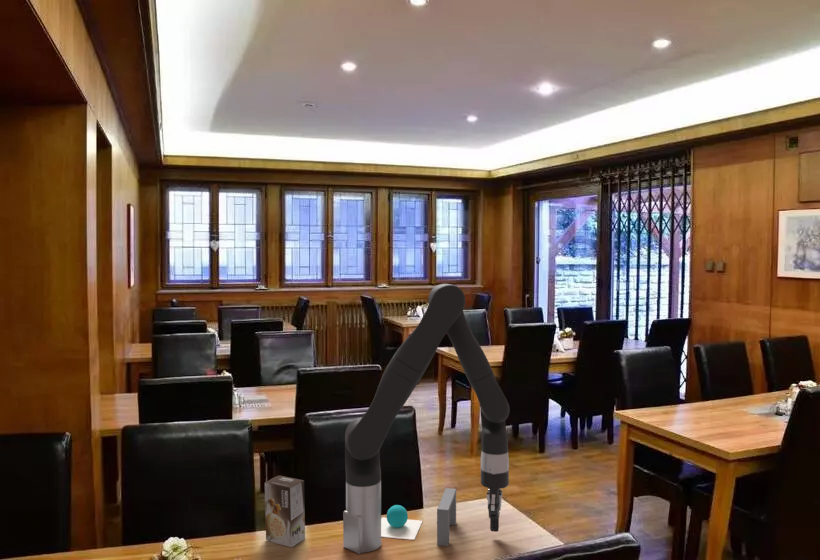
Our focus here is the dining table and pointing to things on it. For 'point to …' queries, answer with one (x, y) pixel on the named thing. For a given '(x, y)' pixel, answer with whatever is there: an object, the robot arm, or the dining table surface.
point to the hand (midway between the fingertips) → (494, 530)
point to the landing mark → (400, 529)
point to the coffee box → (285, 510)
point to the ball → (397, 516)
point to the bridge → (446, 516)
